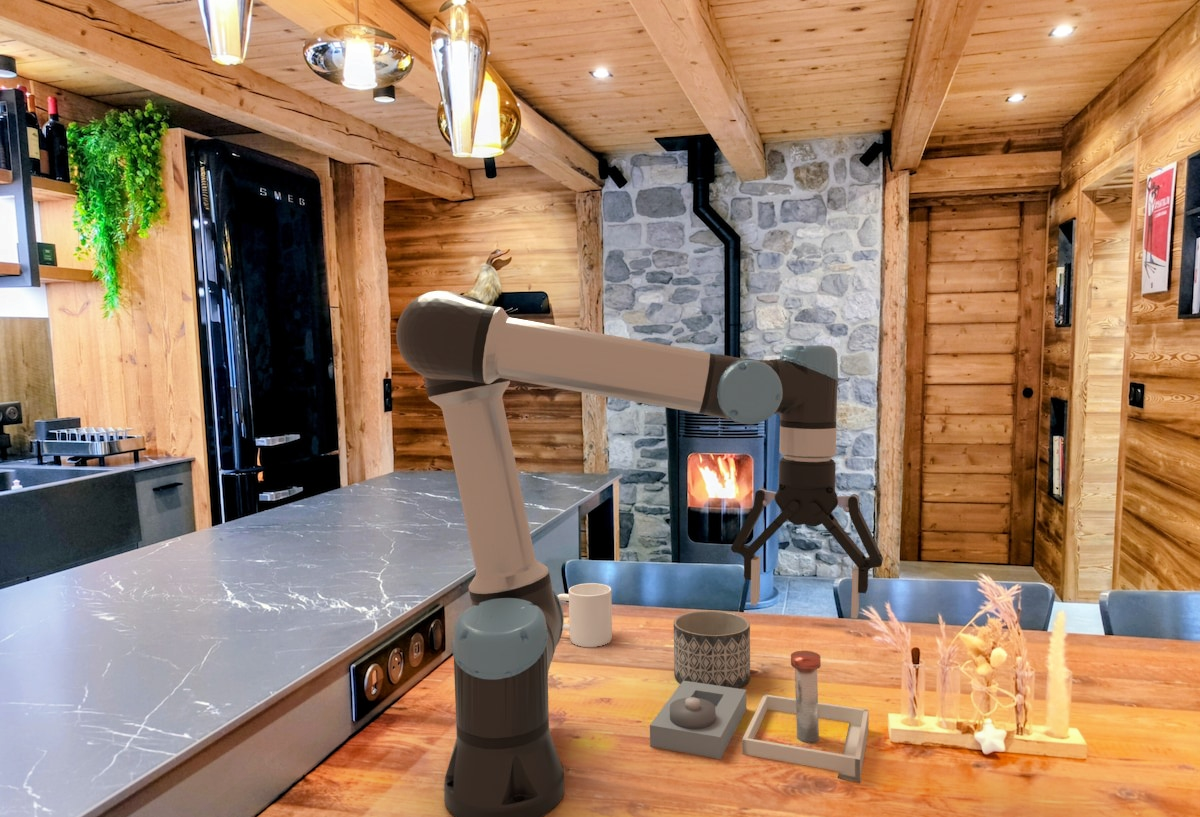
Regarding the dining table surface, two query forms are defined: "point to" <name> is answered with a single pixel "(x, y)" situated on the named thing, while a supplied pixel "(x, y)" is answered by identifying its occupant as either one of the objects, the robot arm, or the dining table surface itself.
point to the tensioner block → (699, 719)
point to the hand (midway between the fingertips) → (803, 609)
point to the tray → (844, 763)
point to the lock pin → (806, 695)
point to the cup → (589, 614)
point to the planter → (712, 648)
